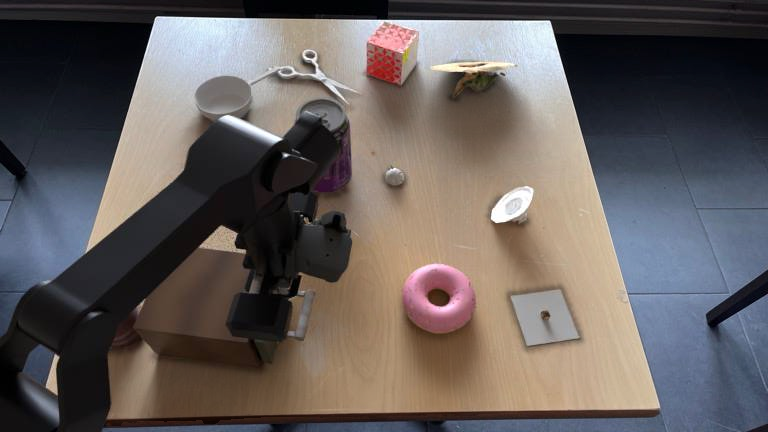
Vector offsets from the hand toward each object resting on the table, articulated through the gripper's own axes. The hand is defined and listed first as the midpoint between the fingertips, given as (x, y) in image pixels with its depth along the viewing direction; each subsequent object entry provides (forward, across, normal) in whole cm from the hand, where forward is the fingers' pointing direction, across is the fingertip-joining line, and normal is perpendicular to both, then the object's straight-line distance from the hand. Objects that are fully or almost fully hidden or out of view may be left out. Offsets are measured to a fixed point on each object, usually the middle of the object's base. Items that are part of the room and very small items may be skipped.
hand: (286, 292), depth 66 cm
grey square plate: (+12, +7, -36) cm, 39 cm away
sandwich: (+12, +58, -23) cm, 64 cm away
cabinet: (+12, 0, +11) cm, 16 cm away
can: (+12, -3, +24) cm, 27 cm away
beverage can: (+12, +29, +1) cm, 31 cm away
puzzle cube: (+12, +60, -7) cm, 62 cm away
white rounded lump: (+12, +30, -11) cm, 34 cm away
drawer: (+11, 0, +7) cm, 13 cm away
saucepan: (+12, +46, +21) cm, 52 cm away
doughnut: (+12, +7, -20) cm, 24 cm away
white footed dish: (+12, +25, -31) cm, 42 cm away
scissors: (+12, +54, +7) cm, 56 cm away
